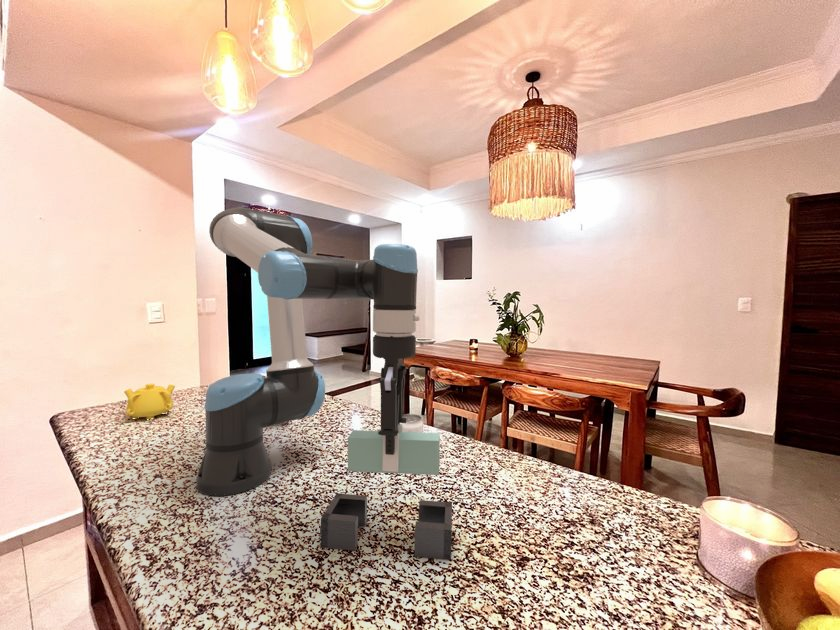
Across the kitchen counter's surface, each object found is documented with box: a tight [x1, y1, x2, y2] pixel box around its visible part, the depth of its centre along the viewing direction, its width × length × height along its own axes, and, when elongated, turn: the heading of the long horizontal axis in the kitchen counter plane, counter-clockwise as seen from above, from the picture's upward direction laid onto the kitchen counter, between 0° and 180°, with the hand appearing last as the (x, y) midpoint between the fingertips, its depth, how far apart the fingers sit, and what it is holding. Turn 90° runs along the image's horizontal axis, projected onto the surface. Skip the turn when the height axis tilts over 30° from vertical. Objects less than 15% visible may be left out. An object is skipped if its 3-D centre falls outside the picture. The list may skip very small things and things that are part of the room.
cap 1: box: [320, 492, 368, 551], centre depth 62 cm, size 6×8×5 cm
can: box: [400, 413, 424, 433], centre depth 89 cm, size 6×6×12 cm
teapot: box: [124, 383, 176, 420], centre depth 120 cm, size 14×14×11 cm
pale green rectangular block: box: [347, 429, 441, 476], centre depth 62 cm, size 16×4×6 cm, turn 85°
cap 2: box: [413, 499, 453, 561], centre depth 60 cm, size 6×8×5 cm
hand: (392, 464), depth 62 cm, fingers closed on pale green rectangular block, 3 cm apart
